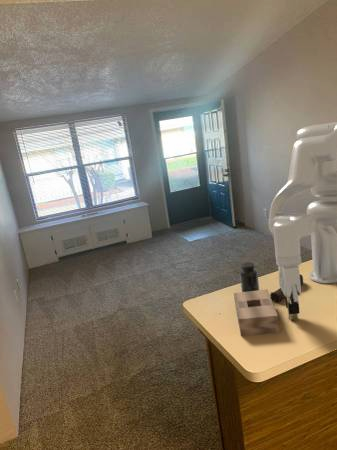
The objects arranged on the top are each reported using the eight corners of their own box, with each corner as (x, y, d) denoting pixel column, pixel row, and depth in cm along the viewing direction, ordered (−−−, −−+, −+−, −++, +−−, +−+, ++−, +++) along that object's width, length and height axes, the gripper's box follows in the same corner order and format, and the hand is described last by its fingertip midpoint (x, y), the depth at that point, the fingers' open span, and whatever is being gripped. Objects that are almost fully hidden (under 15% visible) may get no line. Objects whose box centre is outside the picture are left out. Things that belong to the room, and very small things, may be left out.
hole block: (268, 304, 121) (267, 289, 120) (279, 332, 104) (277, 315, 102) (235, 307, 123) (233, 293, 121) (240, 335, 106) (238, 319, 104)
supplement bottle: (238, 293, 133) (235, 266, 130) (248, 286, 137) (245, 260, 134) (253, 297, 128) (249, 269, 125) (263, 290, 132) (259, 262, 129)
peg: (296, 315, 111) (294, 288, 108) (299, 320, 108) (297, 293, 106) (287, 316, 111) (285, 289, 109) (289, 321, 108) (287, 294, 106)
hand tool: (279, 304, 120) (278, 292, 119) (270, 301, 124) (269, 289, 122) (309, 285, 130) (308, 274, 129) (300, 282, 134) (299, 272, 132)
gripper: (271, 251, 113) (275, 299, 117) (281, 270, 97) (287, 325, 102) (293, 248, 112) (297, 297, 116) (308, 267, 96) (312, 323, 101)
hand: (292, 310), depth 109 cm, fingers closed on peg, 3 cm apart
